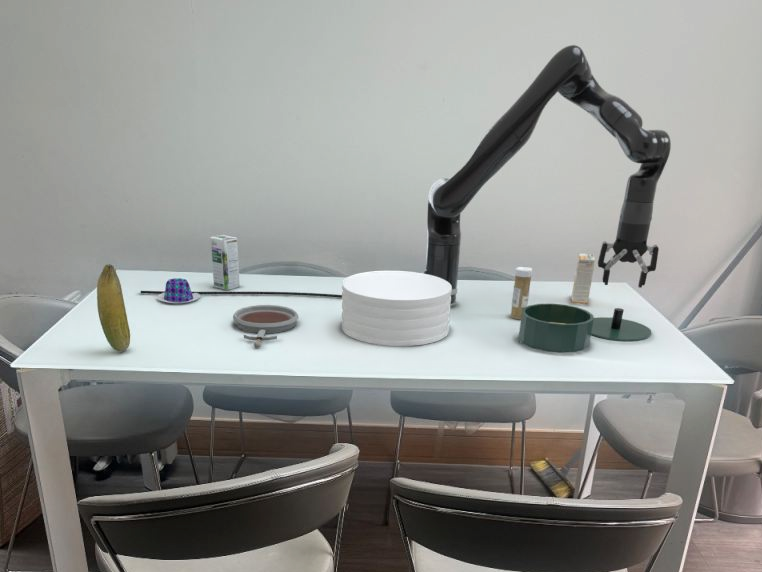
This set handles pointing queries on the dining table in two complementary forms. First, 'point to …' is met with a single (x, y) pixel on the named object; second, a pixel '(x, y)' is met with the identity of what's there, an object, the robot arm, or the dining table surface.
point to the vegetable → (112, 309)
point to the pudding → (178, 292)
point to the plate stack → (396, 307)
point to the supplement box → (583, 278)
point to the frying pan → (265, 321)
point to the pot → (555, 327)
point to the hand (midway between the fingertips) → (622, 285)
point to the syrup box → (225, 262)
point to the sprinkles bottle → (520, 291)
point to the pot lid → (619, 328)
